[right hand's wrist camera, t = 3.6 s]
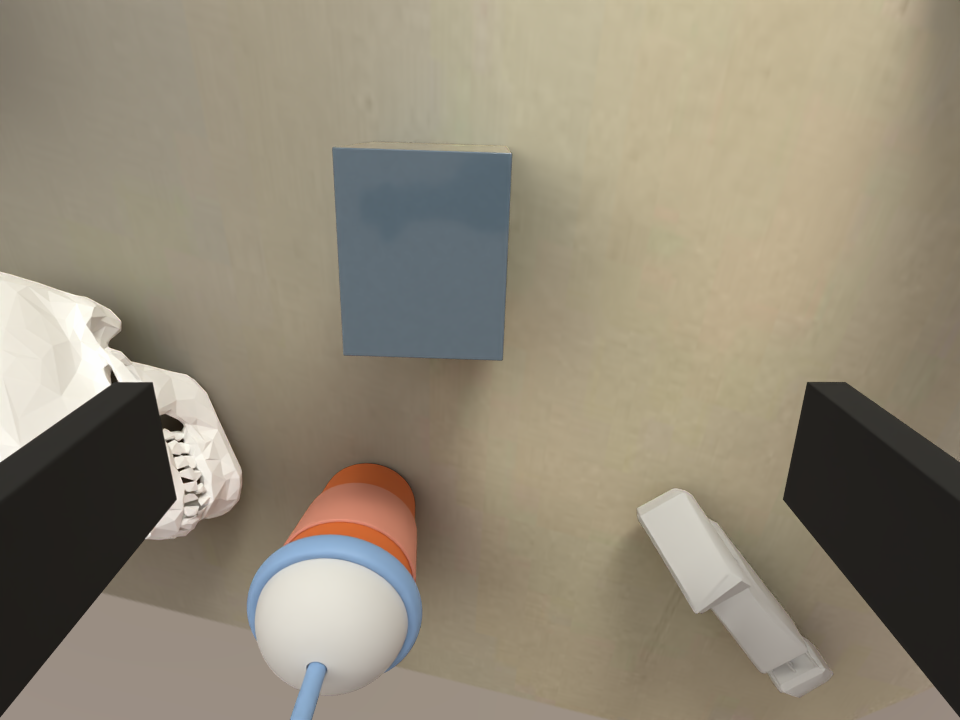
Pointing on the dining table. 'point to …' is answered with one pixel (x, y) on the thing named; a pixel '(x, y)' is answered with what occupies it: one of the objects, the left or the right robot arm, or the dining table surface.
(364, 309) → the blue-grey block
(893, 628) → the right robot arm
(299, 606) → the cup with straw
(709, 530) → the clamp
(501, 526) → the dining table surface
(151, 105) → the dining table surface
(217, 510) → the skull
